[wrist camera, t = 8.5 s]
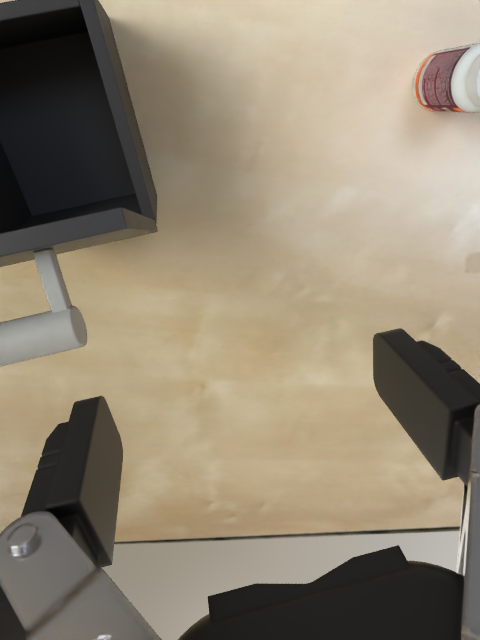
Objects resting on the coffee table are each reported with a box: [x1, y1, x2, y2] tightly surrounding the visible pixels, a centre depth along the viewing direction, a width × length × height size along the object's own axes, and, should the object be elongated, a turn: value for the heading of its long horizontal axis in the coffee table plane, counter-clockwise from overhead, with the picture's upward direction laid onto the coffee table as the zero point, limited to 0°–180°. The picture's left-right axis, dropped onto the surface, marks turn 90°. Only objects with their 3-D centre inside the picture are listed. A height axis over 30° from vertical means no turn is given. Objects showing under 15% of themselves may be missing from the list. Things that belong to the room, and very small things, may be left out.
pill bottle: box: [413, 43, 480, 112], centre depth 34 cm, size 5×5×8 cm
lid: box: [0, 207, 158, 367], centre depth 23 cm, size 14×12×5 cm
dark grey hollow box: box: [0, 0, 157, 233], centre depth 31 cm, size 14×12×10 cm
